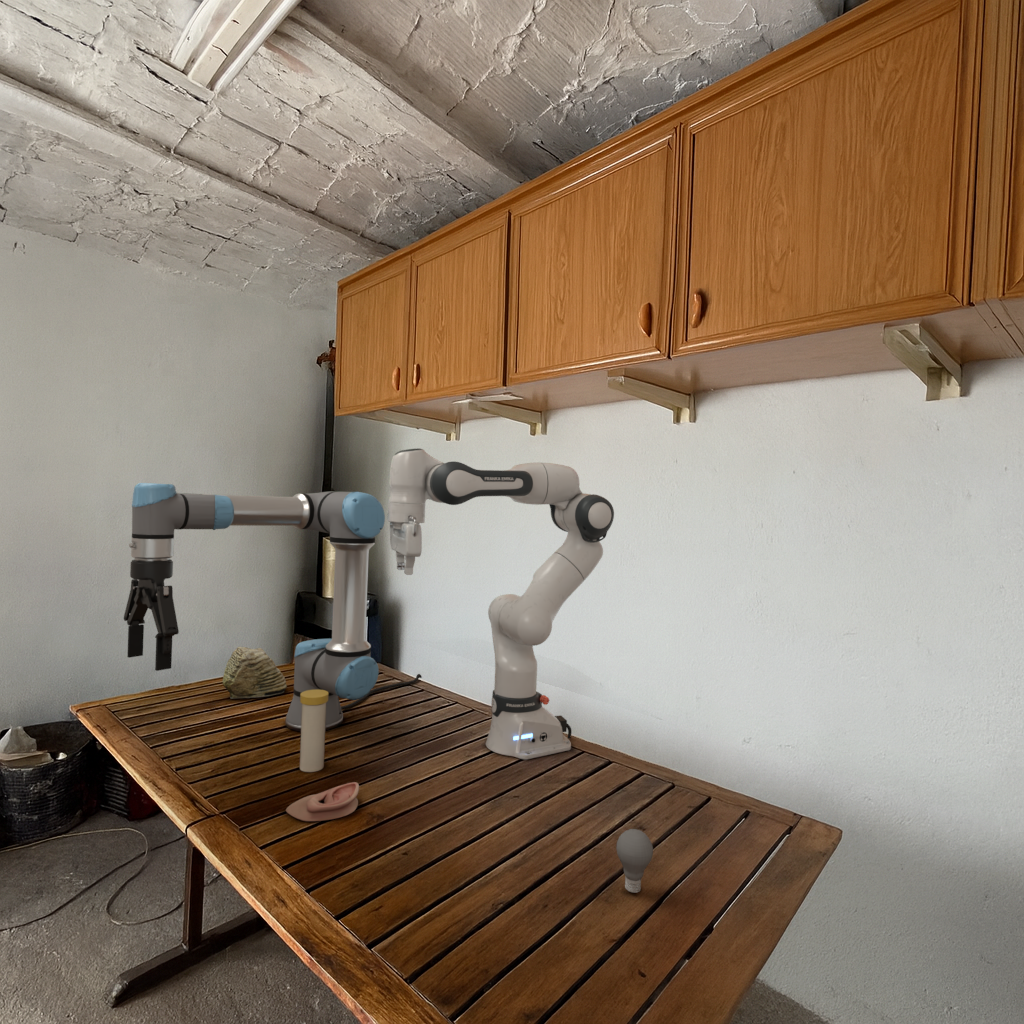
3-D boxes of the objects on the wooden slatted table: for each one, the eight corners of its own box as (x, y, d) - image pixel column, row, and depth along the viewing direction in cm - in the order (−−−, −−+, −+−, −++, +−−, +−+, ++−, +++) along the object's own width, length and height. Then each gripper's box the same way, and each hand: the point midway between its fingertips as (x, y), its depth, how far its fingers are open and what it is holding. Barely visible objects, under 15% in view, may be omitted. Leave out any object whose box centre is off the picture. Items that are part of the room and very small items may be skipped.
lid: (301, 706, 144) (302, 698, 143) (298, 698, 149) (298, 690, 149) (330, 703, 146) (330, 696, 146) (325, 695, 152) (326, 688, 152)
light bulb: (610, 879, 108) (613, 822, 108) (644, 879, 109) (647, 822, 109) (619, 902, 102) (622, 840, 102) (655, 901, 103) (658, 840, 103)
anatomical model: (278, 797, 124) (308, 772, 135) (277, 817, 124) (307, 791, 136) (340, 806, 122) (366, 781, 133) (339, 827, 122) (365, 799, 133)
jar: (301, 773, 144) (303, 700, 144) (298, 764, 149) (300, 693, 149) (325, 770, 147) (328, 697, 146) (321, 761, 152) (324, 690, 151)
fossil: (218, 695, 195) (220, 647, 195) (278, 685, 208) (279, 640, 207) (228, 703, 189) (230, 653, 188) (289, 692, 201) (290, 645, 201)
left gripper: (108, 554, 134) (104, 654, 134) (159, 565, 118) (155, 678, 119) (146, 552, 140) (143, 648, 140) (199, 563, 124) (195, 671, 124)
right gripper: (429, 517, 145) (427, 577, 145) (410, 514, 164) (408, 567, 164) (402, 516, 143) (399, 577, 143) (386, 513, 162) (384, 567, 162)
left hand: (148, 662), depth 129 cm, fingers open, 13 cm apart
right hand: (404, 572), depth 154 cm, fingers open, 8 cm apart
